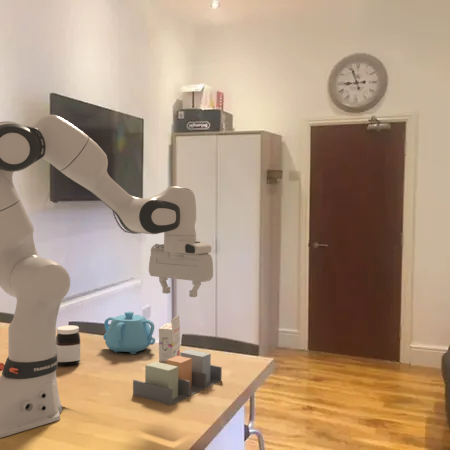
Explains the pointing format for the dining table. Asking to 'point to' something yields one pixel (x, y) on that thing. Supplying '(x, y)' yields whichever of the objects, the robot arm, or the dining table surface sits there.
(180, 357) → the terracotta plug
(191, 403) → the dining table surface
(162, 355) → the ink cartridge box
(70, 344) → the spread jar
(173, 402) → the slot rack
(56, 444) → the dining table surface
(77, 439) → the dining table surface
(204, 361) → the blue-grey block
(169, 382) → the sage block
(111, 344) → the decorative pot
